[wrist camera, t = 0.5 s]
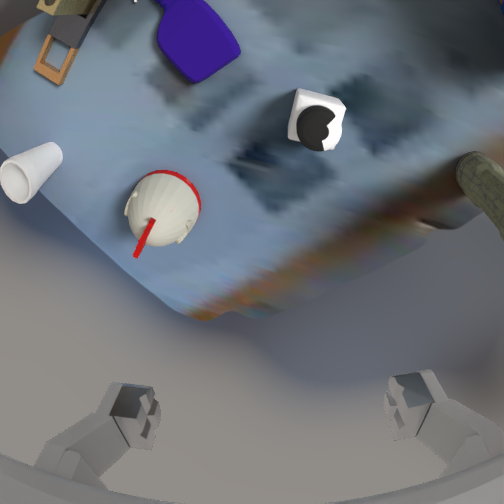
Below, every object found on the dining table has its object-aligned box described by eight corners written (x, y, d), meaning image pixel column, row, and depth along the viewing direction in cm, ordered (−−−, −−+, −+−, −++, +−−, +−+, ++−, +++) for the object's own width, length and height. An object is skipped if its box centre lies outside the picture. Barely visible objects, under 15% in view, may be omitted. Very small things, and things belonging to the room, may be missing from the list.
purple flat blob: (245, 51, 42) (156, -51, 31) (189, 90, 46) (107, -8, 36) (248, 50, 44) (163, -47, 34) (195, 87, 49) (116, -7, 38)
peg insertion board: (87, -29, 34) (82, -30, 33) (116, -16, 36) (112, -17, 35) (38, 67, 45) (33, 69, 44) (62, 83, 48) (58, 85, 47)
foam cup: (61, 131, 54) (21, 155, 44) (73, 170, 60) (38, 200, 49) (32, 140, 56) (-7, 165, 45) (44, 177, 61) (9, 205, 51)
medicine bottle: (287, 127, 51) (286, 149, 42) (297, 87, 47) (299, 99, 37) (328, 137, 51) (337, 162, 42) (339, 98, 47) (352, 114, 37)
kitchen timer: (127, 210, 65) (95, 254, 53) (149, 157, 57) (113, 194, 45) (184, 241, 68) (162, 290, 56) (213, 192, 60) (192, 237, 48)
